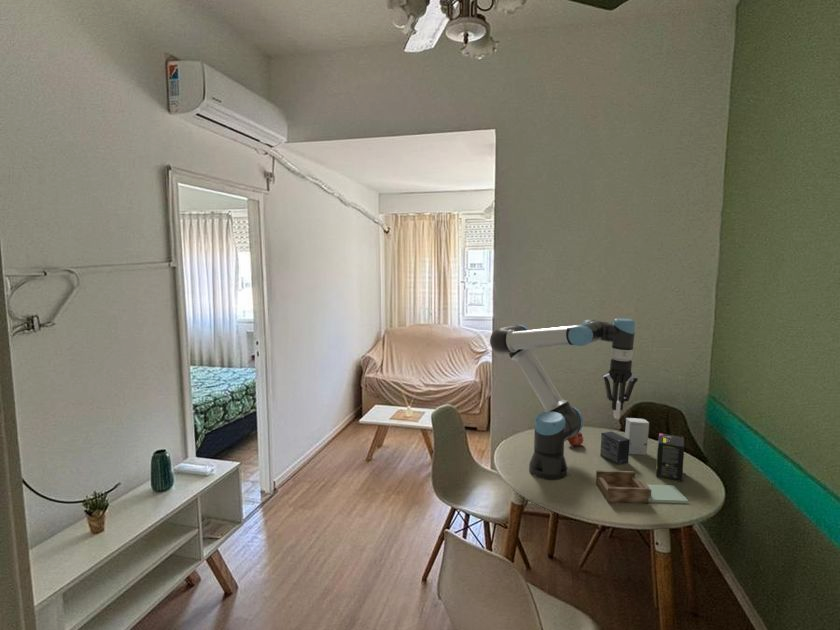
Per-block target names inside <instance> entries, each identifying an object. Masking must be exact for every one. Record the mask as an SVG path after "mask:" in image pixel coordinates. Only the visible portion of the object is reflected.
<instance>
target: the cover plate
mask: <svg viewBox="0 0 840 630" xmlns="http://www.w3.org/2000/svg"><path fill="white" fill-rule="evenodd" d="M638 481H639V482H640V483H641V484H642V485H643V487H644V488H649V503H663V504H664V503H668V504H689V500H688V499H687V497H686V496H685V495H683V493H682V492H680V490H679V489H678V488H677V487H676V486H675V485H674V484H673V485H672V484H647V483H646V482H645V481H644V480H638Z"/></svg>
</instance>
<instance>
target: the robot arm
mask: <svg viewBox="0 0 840 630" xmlns="http://www.w3.org/2000/svg"><path fill="white" fill-rule="evenodd" d="M635 335H636V323H635V320H633V319H630V318H622V317H621V318H620V317H618V318H614V320H613V322H609V321H602V320H596V319H585V320H584V321H583V322H582V324H577V325H576V324H575V325H568V326H567V325H566V326H558V327H548V328H537V329H529V328H528V327H527V326H525V325H523V324H511V325H509V326H505V327H499V328H497V329H495V330H494V331H493V332H492V333H491V334H490V338H489V345H490V347H491V349H492V350H493V351H494V352H495V353H497V354H500V355H507V354H508V356H509V357H510V360H513V361H515V362H517V364H518V367H519V368H520V370H521V371H522V373H523V374H524V376H525V378H526V379H527V381H528V383H529V385H530V387H532V390H533V391H534V393H535V395H536V396H537V398H538V399H539V401H540V403H541V404H542V406H543V408H544V412H541V413H538V414H537V415H536V417H535V419H534V420H535V421H534V445H533V447H534V448H533V449H534V450H533V454H532V456H531V459H530V462H529V464H528V465H529V467H528V470H530V471H531V472H530V471H529V472H530V474H532V473H533V474H534V475H533V474H532V475H533V476H535V475H536V477H537V476H538V477H537V478H540V477H541V478H540V479H543V478H544V479H545V480H553V481H556V480H561V479H564V478H566V477H567V476H568V472H569V470H568V469H569V468H568V465H567V462H566V458H565V442H566V441H568V439H569V438H571V437H573V436H575V435H577V434H578V433H579V432H581V431H582V429H583V427H584V418H583V415H582V413H581V412H580V410H579V409H578V408H576V407H574V406H571V404H570V403H569V401H568V400H566V399H564V398H562V396H561V395H560V393H559V391H558V390H557V388H556V387H555V385H554V383H553V381H552V380H551V378H550V377H549V374H547V371H546V369H544V366H543V365H542V364H541V362H540V360H539V358H538V357H537V355H536V353H535V352H534V349H542V348H554V347H555V348H556V347H567V346H577V347H582V346H586V345H589V344H592V343H594V342H598V341H601V342H609V343H611V353H610V354H611V355H610V356H611V357H610V366H609V370H608V372H607V374H603V375H602V377H601V378H602V379H603V380H604V385H605V386H604V387H605V391H606V393H605V394H606V398H607V399H608V400H609V401H611V409H612V410H613V415H612V416H613V418H614V419H615V420H620V419H621V418H620V417H621V416H620V415H621V411H623V410H624V409H623V408H624V403H625V402H629V401H630V398H631V396H632V392H633V389H634V386H635V385H636V383H637V381H639V380H638V377H636V376H635V375H633V373H632V367H633V366H632V365H633V361H632V359H633V353H634V345H635V344H634V342H635ZM610 379H612V389H611V384H610V383H611V382H610ZM627 382H628V383H627ZM626 385H627V387H626Z"/></svg>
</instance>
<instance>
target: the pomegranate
mask: <svg viewBox="0 0 840 630" xmlns="http://www.w3.org/2000/svg"><path fill="white" fill-rule="evenodd" d="M567 442H568V443H569V445H571V446H573V447H576V446H577V447H578V446H581V445H582V444H583V443H584V436H583V433H582V432H581V431H580V432H579V433H578V434H577V435H575V436H573V437H571V438H569V439H568V440H567Z"/></svg>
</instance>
